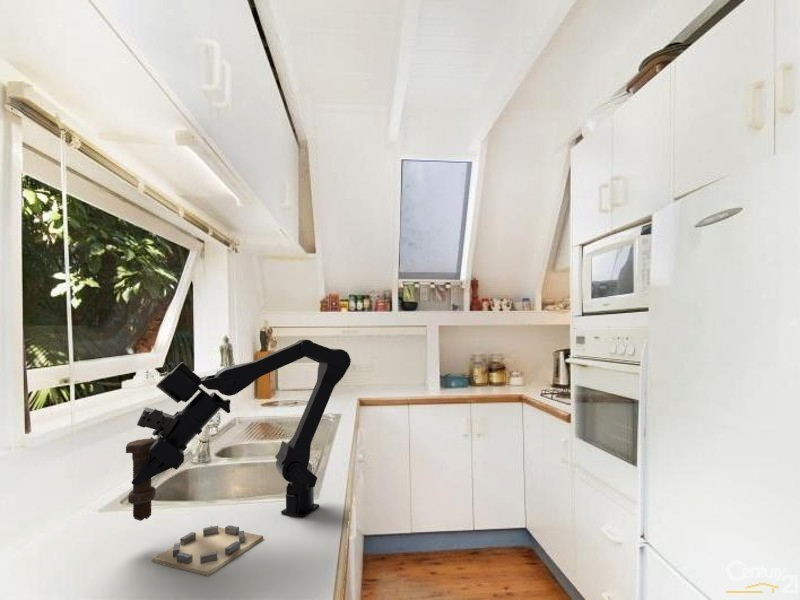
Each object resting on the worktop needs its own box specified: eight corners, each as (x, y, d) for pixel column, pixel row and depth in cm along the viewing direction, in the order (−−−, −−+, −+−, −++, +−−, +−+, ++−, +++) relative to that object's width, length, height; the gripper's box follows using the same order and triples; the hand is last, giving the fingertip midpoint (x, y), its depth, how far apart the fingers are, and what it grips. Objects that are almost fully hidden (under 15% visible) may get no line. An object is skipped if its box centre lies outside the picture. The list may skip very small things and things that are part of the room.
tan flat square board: (211, 528, 93) (211, 525, 93) (263, 538, 87) (263, 535, 88) (151, 561, 80) (151, 558, 80) (208, 575, 75) (208, 572, 75)
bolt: (152, 509, 90) (152, 436, 91) (163, 515, 87) (162, 440, 87) (121, 520, 85) (121, 443, 86) (130, 527, 82) (130, 447, 83)
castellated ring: (211, 527, 92) (211, 521, 92) (258, 536, 87) (257, 530, 87) (157, 557, 80) (157, 550, 81) (208, 569, 76) (208, 562, 76)
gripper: (164, 388, 98) (105, 446, 92) (163, 398, 81) (92, 469, 75) (202, 418, 101) (148, 476, 95) (209, 434, 84) (144, 505, 79)
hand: (134, 480), depth 86 cm, fingers closed on bolt, 5 cm apart
